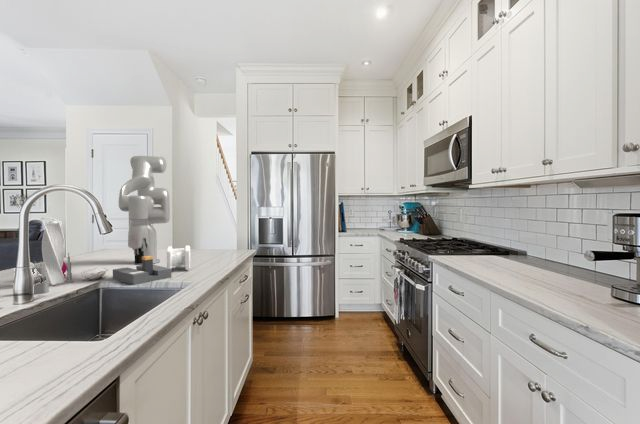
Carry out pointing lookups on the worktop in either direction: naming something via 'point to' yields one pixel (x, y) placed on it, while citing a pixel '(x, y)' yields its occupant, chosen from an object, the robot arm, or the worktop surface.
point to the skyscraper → (55, 253)
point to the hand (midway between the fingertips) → (139, 263)
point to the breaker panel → (141, 274)
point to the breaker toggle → (147, 264)
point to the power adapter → (43, 286)
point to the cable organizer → (178, 257)
